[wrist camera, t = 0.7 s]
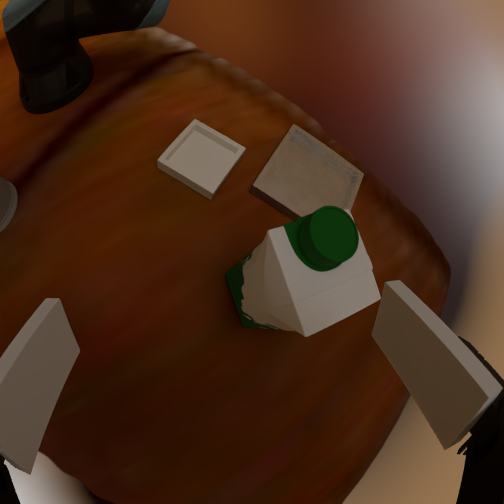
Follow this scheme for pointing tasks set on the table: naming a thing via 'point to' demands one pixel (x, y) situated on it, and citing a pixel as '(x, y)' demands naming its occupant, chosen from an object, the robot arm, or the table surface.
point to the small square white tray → (201, 158)
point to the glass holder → (7, 202)
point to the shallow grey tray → (306, 177)
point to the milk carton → (305, 275)
